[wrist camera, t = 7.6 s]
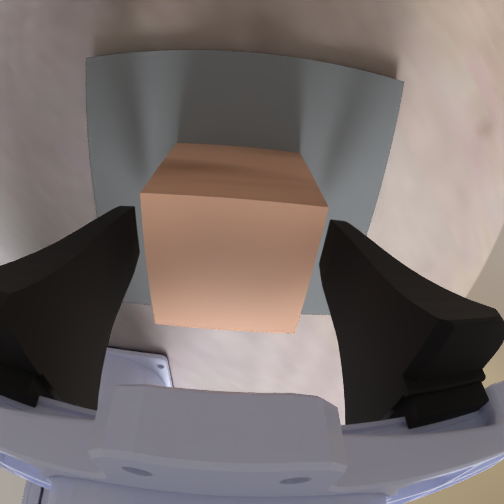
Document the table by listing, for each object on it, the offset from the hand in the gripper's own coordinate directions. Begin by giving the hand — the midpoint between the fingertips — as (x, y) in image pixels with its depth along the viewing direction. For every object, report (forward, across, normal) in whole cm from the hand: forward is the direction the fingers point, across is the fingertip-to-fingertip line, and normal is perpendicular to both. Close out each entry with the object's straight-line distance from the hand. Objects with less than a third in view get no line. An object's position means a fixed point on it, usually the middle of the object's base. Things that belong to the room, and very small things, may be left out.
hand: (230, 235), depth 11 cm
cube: (+3, 0, 0) cm, 3 cm away
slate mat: (+3, 0, 0) cm, 3 cm away
